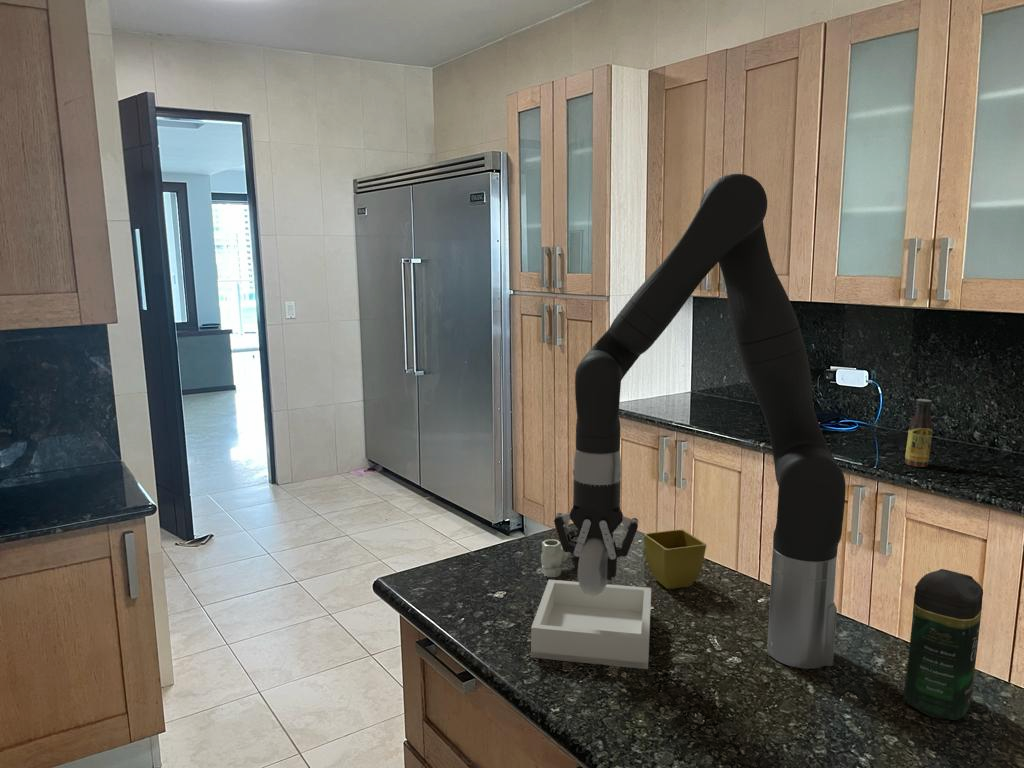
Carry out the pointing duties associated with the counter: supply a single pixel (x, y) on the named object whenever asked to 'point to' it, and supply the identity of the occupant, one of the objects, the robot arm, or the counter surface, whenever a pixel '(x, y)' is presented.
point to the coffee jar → (943, 644)
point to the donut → (593, 566)
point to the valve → (554, 555)
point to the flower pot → (674, 557)
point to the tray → (593, 625)
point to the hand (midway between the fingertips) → (594, 576)
